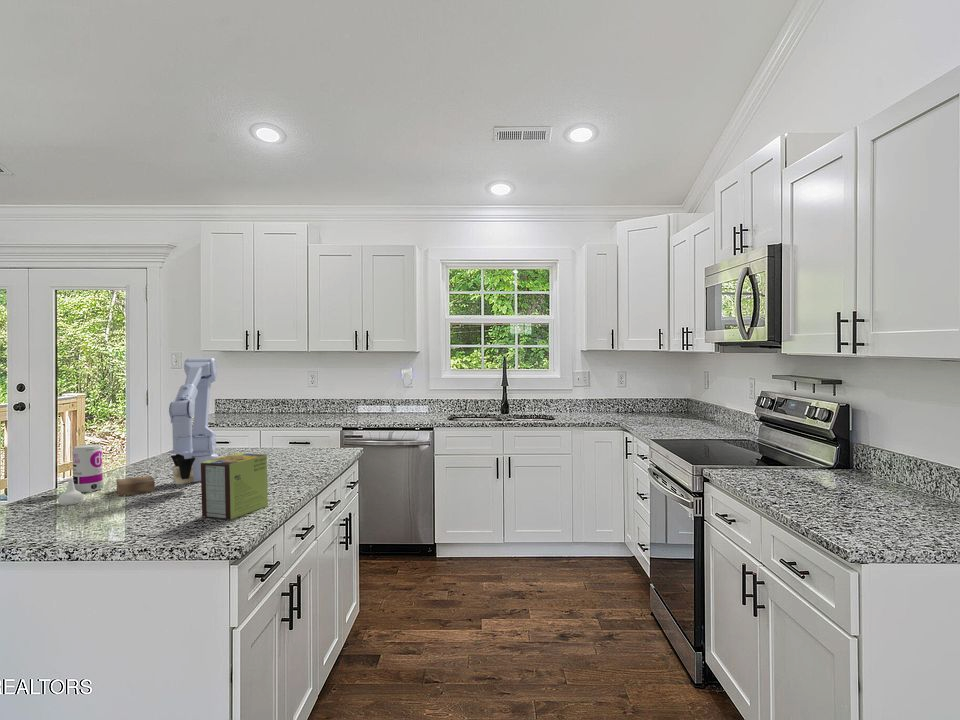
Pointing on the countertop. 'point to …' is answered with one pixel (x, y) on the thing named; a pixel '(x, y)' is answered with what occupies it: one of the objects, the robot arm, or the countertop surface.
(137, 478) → the walnut block
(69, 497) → the garlic bulb
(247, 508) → the protein box
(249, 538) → the countertop surface
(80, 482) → the supplement can
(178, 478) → the maple cube
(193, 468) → the robot arm
